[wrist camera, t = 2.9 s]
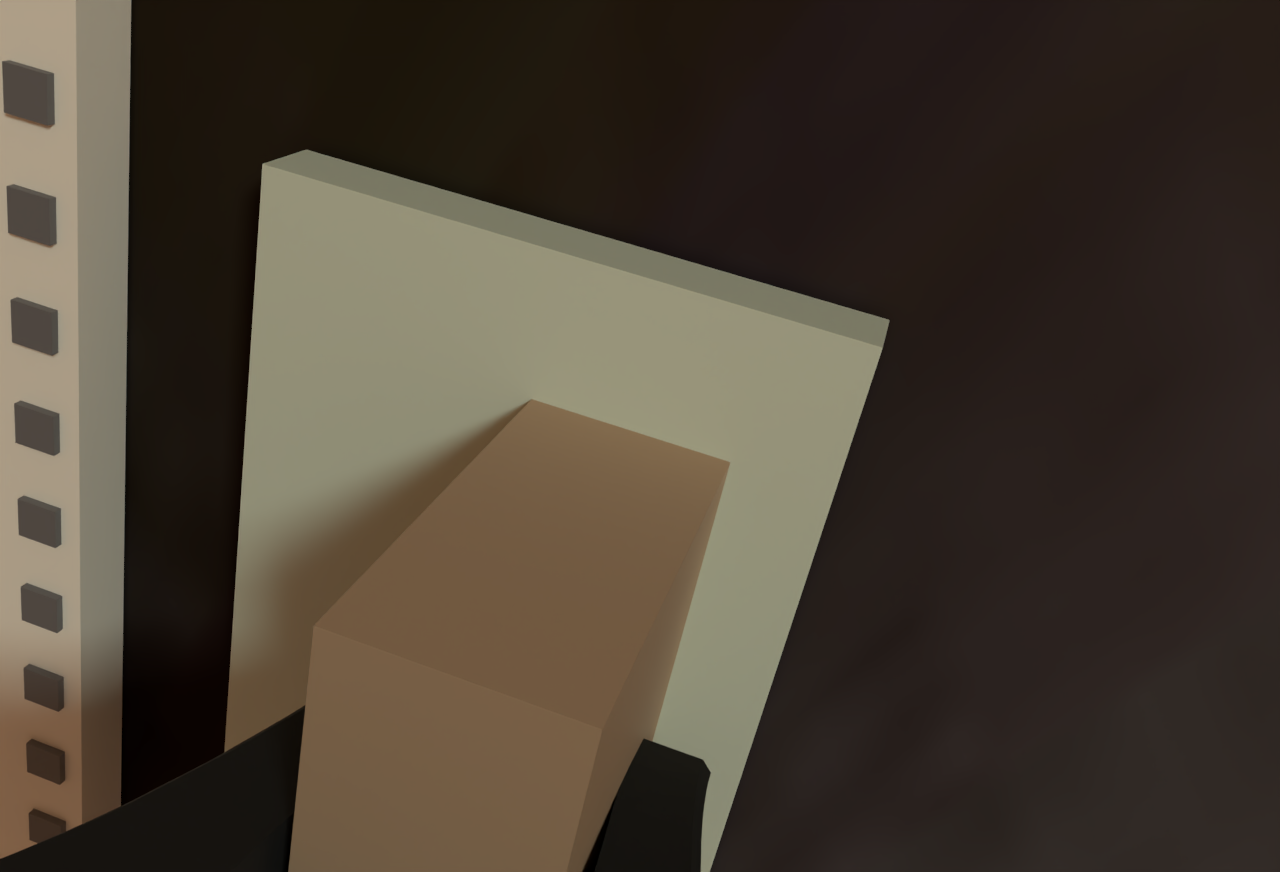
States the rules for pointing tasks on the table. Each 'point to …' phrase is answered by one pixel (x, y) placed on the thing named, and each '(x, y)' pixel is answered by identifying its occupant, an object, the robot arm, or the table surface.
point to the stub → (515, 516)
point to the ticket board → (62, 410)
